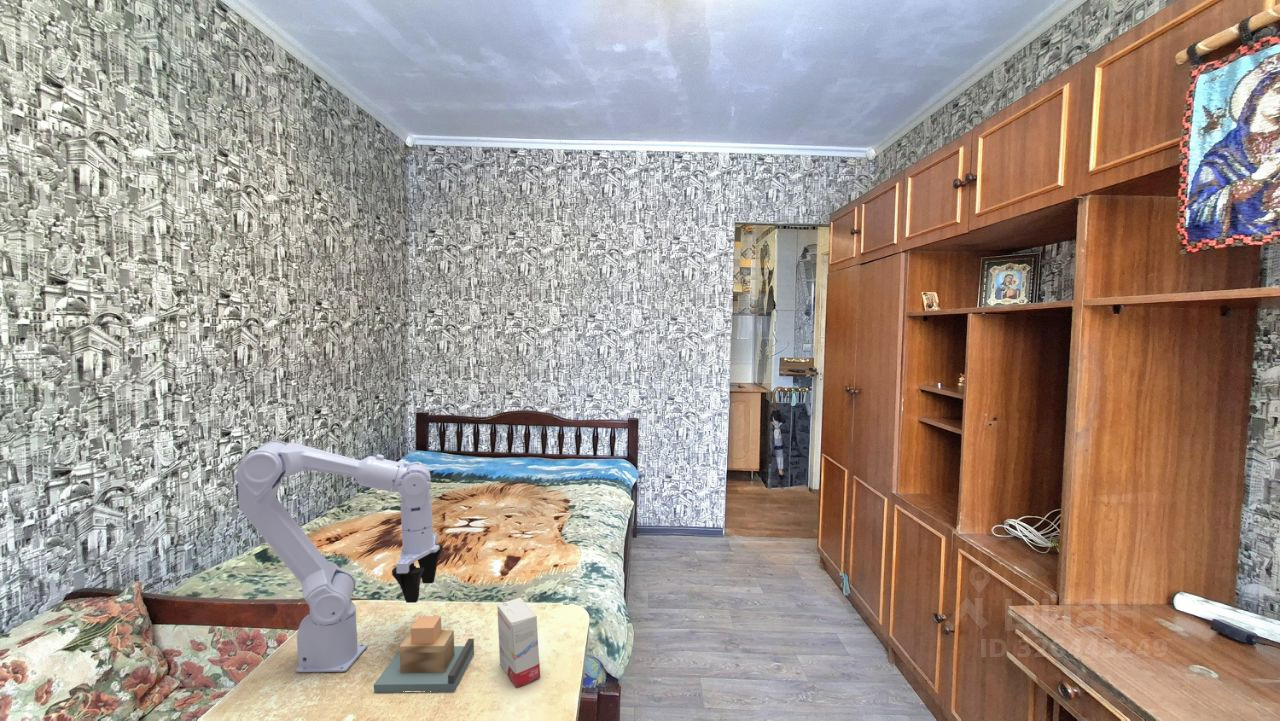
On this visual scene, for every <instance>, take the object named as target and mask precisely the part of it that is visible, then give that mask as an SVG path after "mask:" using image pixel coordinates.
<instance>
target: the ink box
mask: <svg viewBox="0 0 1280 721" xmlns="http://www.w3.org/2000/svg"><path fill="white" fill-rule="evenodd" d="M496 607H497V608H496V609H497V626H498V627H497V628H498V629H497V630H498V648H499V650H498V653H499V663H500V664H499V665H500V666H501V668H502V670H504V673H505V674H506V675H507V677H509V679H510V681H511V682H512V684H514V686H515V688H520V687H522V686H524V685H526V684H529V683H531V682H533V681H535V680H538V679H539V678H541V667H540V664H541V663H540V653H539V652H540V651H539V639H538V638H539V636H538V619H537V618H538V616H537V615H536V612H534V611H533V610H532V609H531V607H530V606H529V605H528V604H527V603H526V601H525V600H524V599H523V597H516V598H514V599H510V600H507V601H505V602H501V603H498V604H497V605H496Z"/></svg>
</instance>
